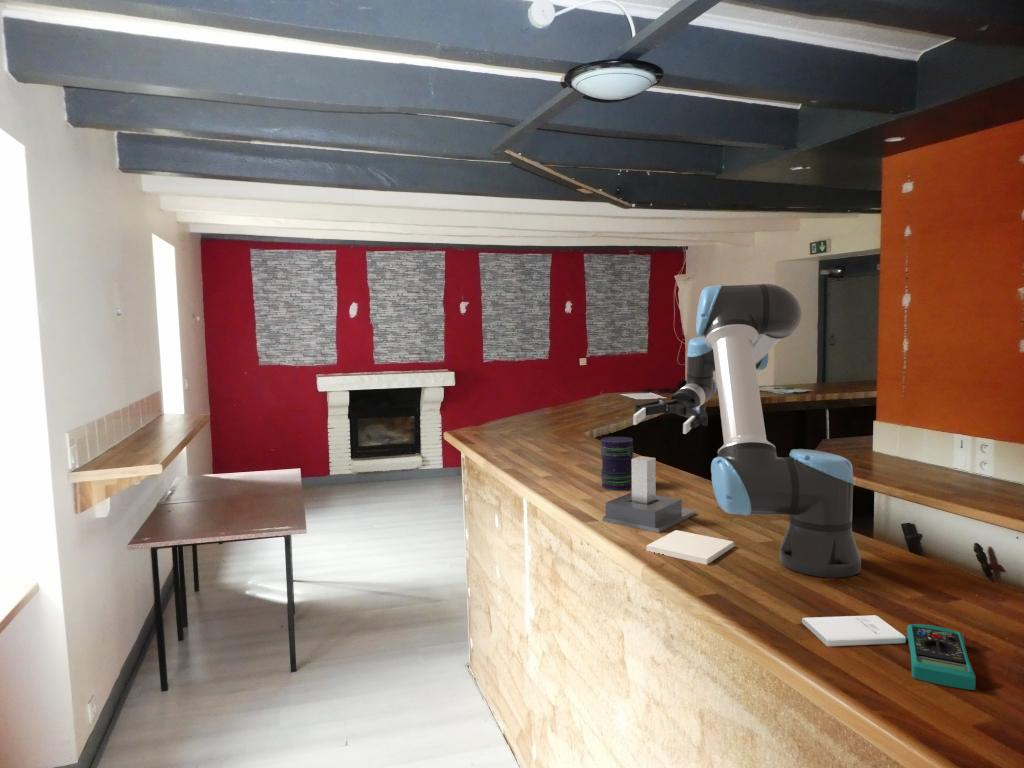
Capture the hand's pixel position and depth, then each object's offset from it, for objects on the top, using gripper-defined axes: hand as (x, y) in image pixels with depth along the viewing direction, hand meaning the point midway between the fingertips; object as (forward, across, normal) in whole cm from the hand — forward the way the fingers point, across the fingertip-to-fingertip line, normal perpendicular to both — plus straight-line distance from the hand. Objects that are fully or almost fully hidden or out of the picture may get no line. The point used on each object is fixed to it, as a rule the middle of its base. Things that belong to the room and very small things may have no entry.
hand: (658, 424), depth 170 cm
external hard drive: (+50, -53, -10) cm, 73 cm away
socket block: (+8, -1, -23) cm, 24 cm away
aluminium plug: (+10, -1, -22) cm, 24 cm away
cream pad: (+25, -18, -18) cm, 36 cm away
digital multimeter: (+53, -64, -8) cm, 84 cm away
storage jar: (-17, +20, -30) cm, 40 cm away
